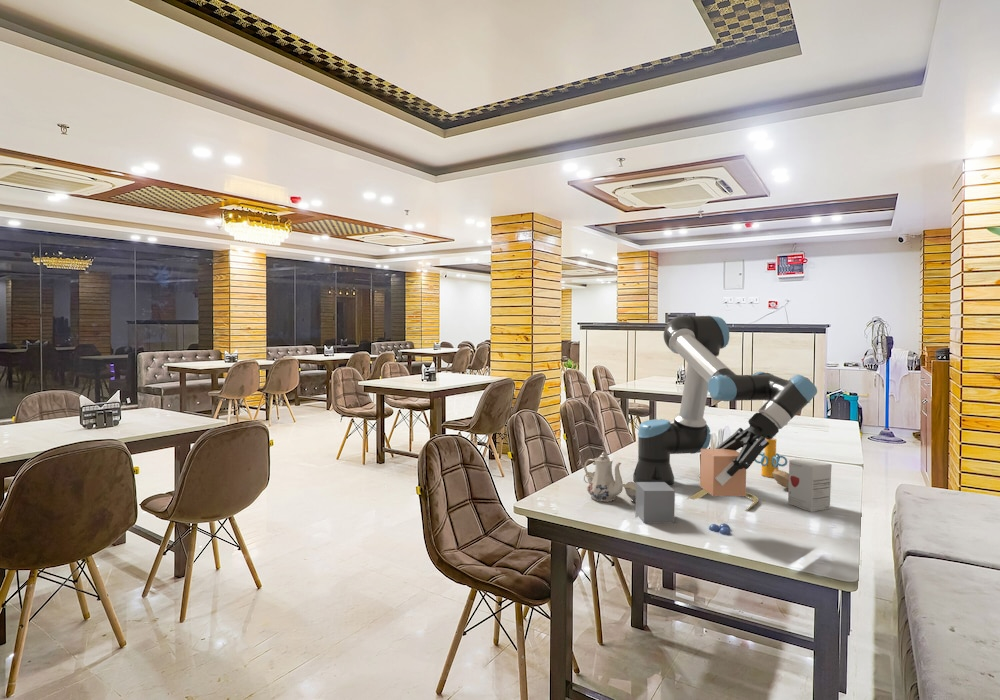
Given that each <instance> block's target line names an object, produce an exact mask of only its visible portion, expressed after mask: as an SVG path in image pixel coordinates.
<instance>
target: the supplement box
mask: <svg viewBox="0 0 1000 700" xmlns="http://www.w3.org/2000/svg"><path fill="white" fill-rule="evenodd" d="M788 463H789V464H788V465H789V466H788V473H789V488H788V490H787V491H788V492H787V493H788V494H787V495H788V497H787V499H788V500H787V503H788V504H789V505H790V506H795V507H796V508H800V509H803V510H805V511H807V512H811V513H813V512H817V511H818V510H819V511H823V510H824V509H825V510H830V509H831V487H832V486H831V485H832V467H833V466H832V465H833V464H831V463H828V462H824V461H820V460H817V459H813V458H808V457H805V458H796V459H789V462H788ZM825 510H824V511H825ZM819 511H818V512H819Z"/></svg>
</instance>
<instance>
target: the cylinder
mask: <svg viewBox="0 0 1000 700" xmlns="http://www.w3.org/2000/svg"><path fill="white" fill-rule="evenodd" d="M765 439H766V438H765ZM766 440H767V441H768V442H769V445H767V446H766V447H765V448H764V452H763V453H760V454H759V455H758V456H761V458H760V461H759V460H757V458H756V459H755V460H754V462H755V463H757V464H760V465H761V476H762V477H765V478H771V479H772V478H773V479H775V478H774V476H773V474H772V472H774V470H775V469H777V470H779V467H785V466H786V465H788V459H787V458H786V456H784V455H780V453H777V438H775V437H773V438H772V439H770V440H769V439H766ZM780 459H784V462H783V464H781V463H779V462H780Z"/></svg>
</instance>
